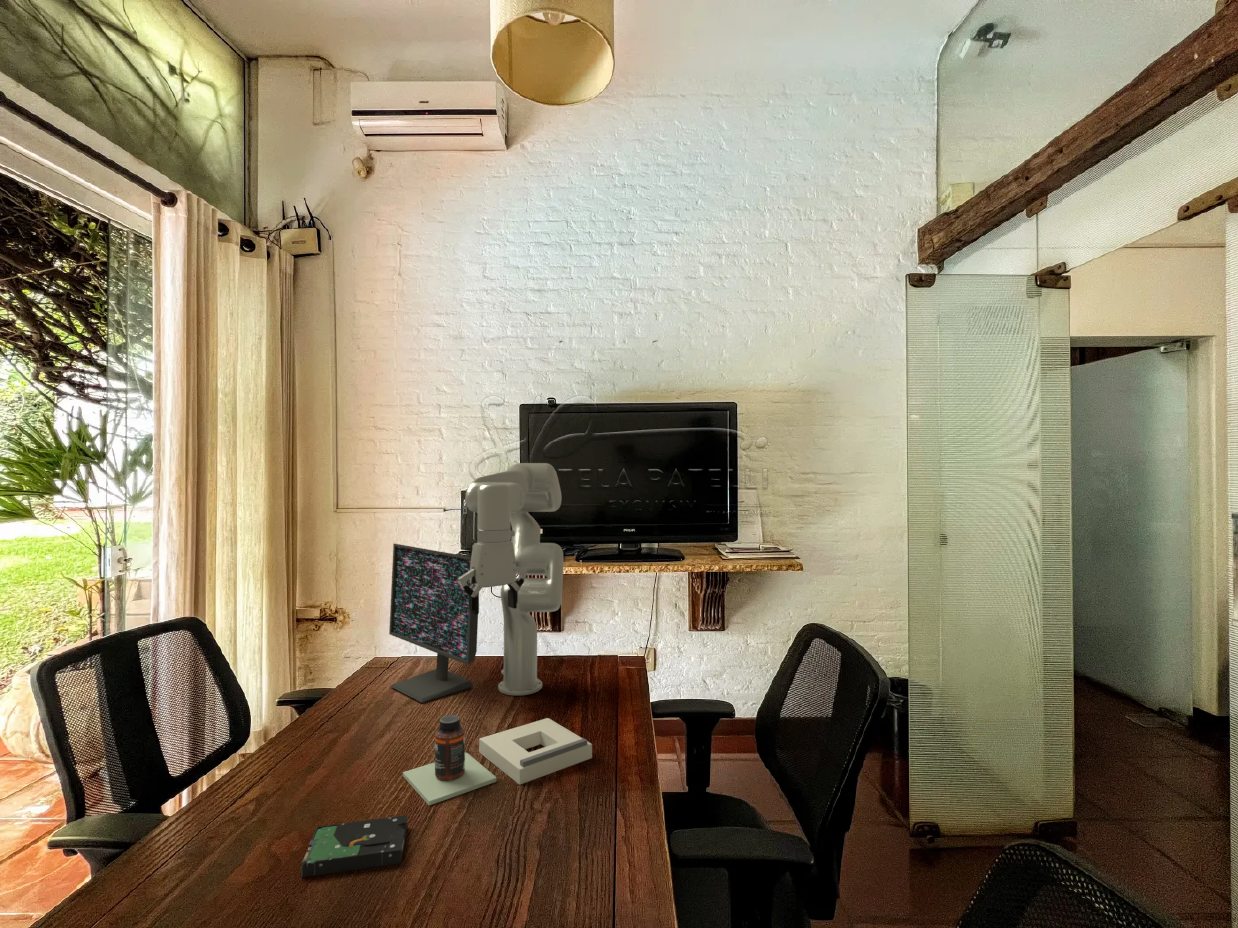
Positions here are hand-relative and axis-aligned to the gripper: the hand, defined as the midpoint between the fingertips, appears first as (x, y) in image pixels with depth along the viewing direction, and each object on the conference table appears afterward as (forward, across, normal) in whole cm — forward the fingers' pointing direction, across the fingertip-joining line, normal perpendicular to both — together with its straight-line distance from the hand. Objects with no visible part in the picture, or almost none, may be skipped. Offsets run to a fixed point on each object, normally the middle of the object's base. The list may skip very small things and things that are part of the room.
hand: (493, 610), depth 141 cm
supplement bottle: (+30, +15, +10) cm, 35 cm away
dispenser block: (+30, -4, +12) cm, 33 cm away
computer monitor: (+31, -2, -42) cm, 52 cm away
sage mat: (+30, +15, +10) cm, 35 cm away
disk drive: (+31, +36, +23) cm, 53 cm away
